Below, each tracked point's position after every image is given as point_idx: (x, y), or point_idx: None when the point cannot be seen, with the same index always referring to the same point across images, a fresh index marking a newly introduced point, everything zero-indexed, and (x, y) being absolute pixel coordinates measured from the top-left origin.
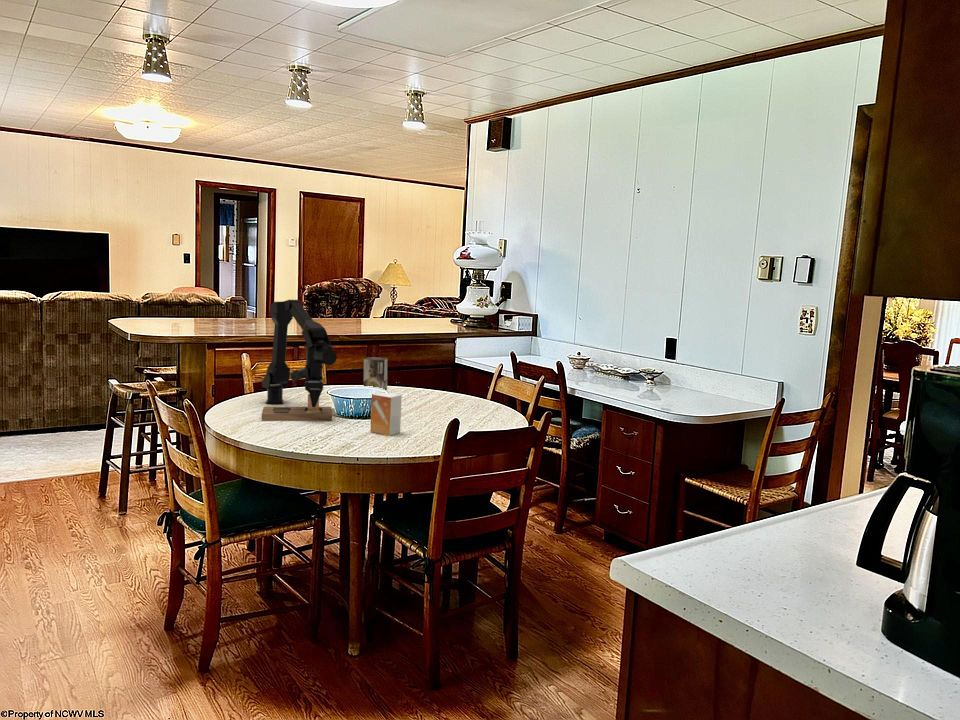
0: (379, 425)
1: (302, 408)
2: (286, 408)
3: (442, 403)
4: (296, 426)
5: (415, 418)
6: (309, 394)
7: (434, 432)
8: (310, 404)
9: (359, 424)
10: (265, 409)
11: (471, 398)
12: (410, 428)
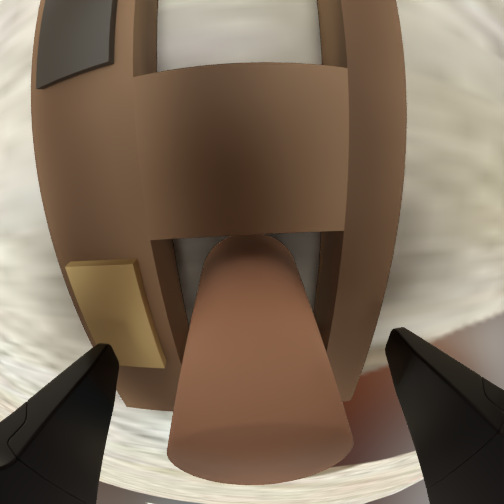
0: None
1: (309, 204)
2: (341, 26)
3: (387, 485)
4: None
5: (237, 495)
6: (269, 437)
7: (109, 483)
8: (188, 336)
9: (111, 430)
10: None
11: (406, 486)
12: (122, 477)
